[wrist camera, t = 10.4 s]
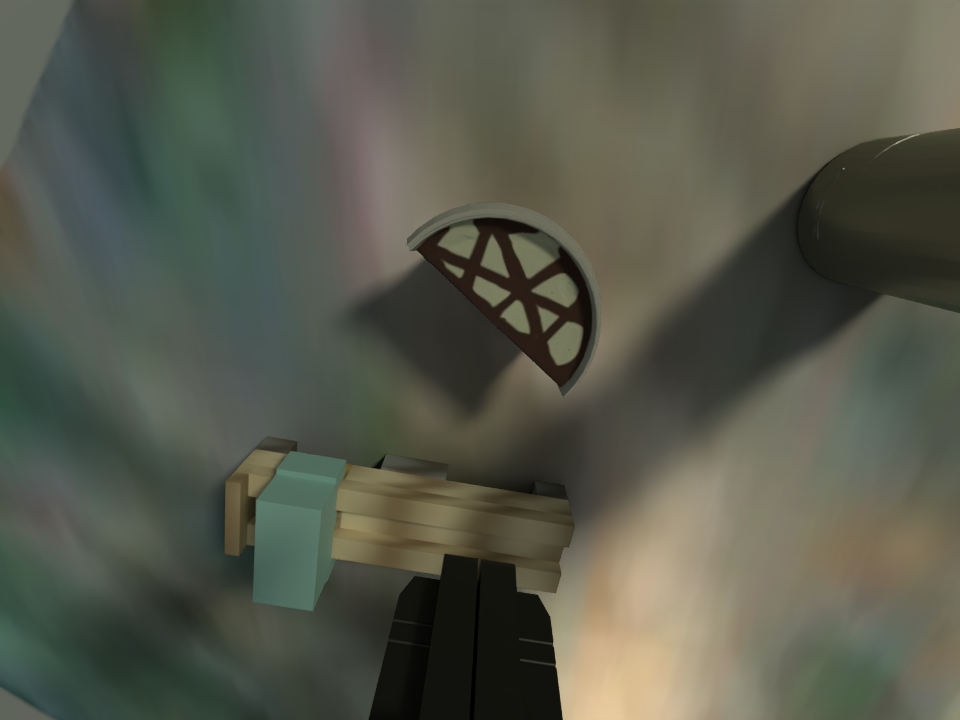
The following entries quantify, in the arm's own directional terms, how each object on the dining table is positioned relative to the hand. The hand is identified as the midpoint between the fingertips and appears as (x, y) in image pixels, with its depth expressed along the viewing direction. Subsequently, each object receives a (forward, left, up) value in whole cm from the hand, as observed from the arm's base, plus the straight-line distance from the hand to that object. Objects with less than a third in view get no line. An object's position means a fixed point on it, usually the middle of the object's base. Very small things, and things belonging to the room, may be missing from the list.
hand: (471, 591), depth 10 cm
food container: (-2, -4, -27) cm, 27 cm away
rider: (+10, +16, -23) cm, 30 cm away
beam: (+3, +16, -26) cm, 31 cm away
